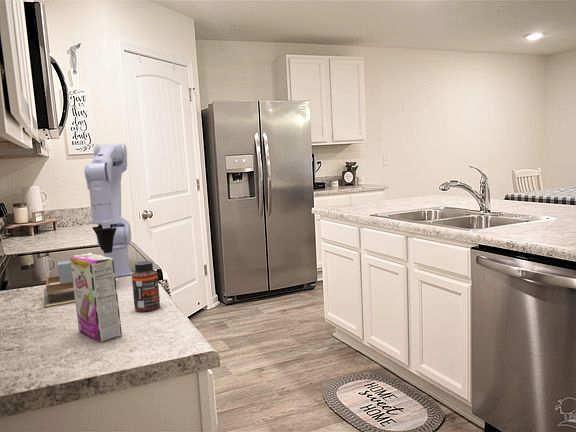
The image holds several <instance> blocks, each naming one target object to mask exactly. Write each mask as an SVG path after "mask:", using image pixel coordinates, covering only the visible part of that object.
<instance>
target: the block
mask: <svg viewBox="0 0 576 432" xmlns="http://www.w3.org/2000/svg"><path fill="white" fill-rule="evenodd" d="M57 270H58V276H59V279H60V284H61V283H67V282H73V280H72V272H71V265H70V260H64V261H58V262H57Z"/></svg>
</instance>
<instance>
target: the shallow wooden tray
mask: <svg viewBox="0 0 576 432" xmlns="http://www.w3.org/2000/svg"><path fill="white" fill-rule="evenodd" d="M45 289H46V290H47V295H48V299H49V302H53V294H56V293H62V292H68V291H74V287H73V282H67V283H61V284H60V279H59V275H57V276H52V277H51V276H50V277H46V278H45Z"/></svg>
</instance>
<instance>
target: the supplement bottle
mask: <svg viewBox="0 0 576 432" xmlns="http://www.w3.org/2000/svg"><path fill="white" fill-rule="evenodd" d="M134 269H135V270H134V271H133V272H132V273H133V274H132V275H131V283H132V284H131V285H132V295H133V305H134V309H135V311H137V312H143V313H144V312H151V311H155V310H157V309H159V307H160V306H161V303H160V300H161V299H160V286H159V277H158V272H157V270H155V269H154V268H153V261H151V260H143V261H142V260H141V261H137V262H136V263H135V262H134Z"/></svg>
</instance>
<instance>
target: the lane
mask: <svg viewBox="0 0 576 432" xmlns="http://www.w3.org/2000/svg"><path fill="white" fill-rule="evenodd" d="M70 304H76V302H75V294H74V291H68V292H62V293H56V294H53V302H49V299H48V295H47V290H46V288H44V290H43V309H47V308H53V307H58V306H59V307H60V306H65V305H70Z"/></svg>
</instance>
